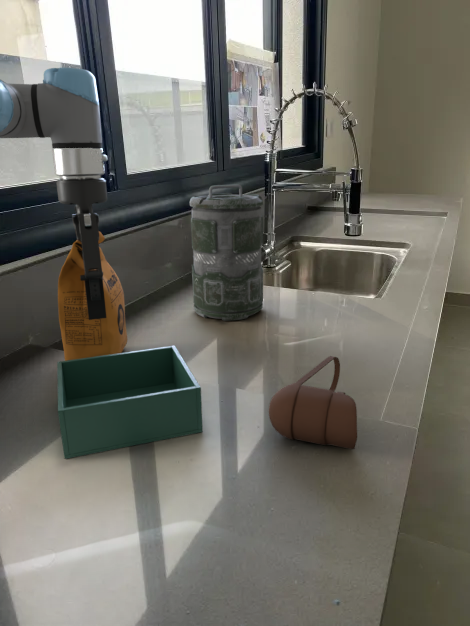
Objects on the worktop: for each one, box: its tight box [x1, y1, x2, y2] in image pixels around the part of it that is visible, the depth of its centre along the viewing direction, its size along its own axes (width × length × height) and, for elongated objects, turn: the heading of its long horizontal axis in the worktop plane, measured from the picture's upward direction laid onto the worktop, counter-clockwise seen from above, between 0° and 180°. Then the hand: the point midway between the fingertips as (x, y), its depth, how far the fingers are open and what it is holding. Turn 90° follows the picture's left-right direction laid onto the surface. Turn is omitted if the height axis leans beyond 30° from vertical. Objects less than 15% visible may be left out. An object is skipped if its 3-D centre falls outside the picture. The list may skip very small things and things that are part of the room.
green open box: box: [56, 345, 204, 460], centre depth 68 cm, size 17×15×6 cm
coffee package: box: [57, 231, 128, 361], centre depth 85 cm, size 10×12×22 cm
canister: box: [189, 184, 264, 322], centre depth 109 cm, size 16×16×28 cm
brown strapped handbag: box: [268, 355, 358, 450], centre depth 67 cm, size 18×12×7 cm, turn 157°
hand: (94, 307), depth 85 cm, fingers closed on coffee package, 12 cm apart
